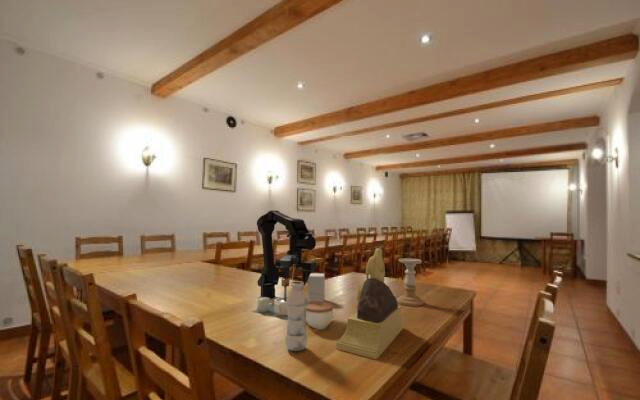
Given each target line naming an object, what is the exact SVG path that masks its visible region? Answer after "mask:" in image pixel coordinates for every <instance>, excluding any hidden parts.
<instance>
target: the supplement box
mask: <svg viewBox="0 0 640 400" xmlns="http://www.w3.org/2000/svg"><path fill="white" fill-rule="evenodd" d="M325 274H326V273H316V272H315V273H313V272H311V274H310V276H309V278H308V280H307V297H308V302H312V301H317V300H320V301H324V302H325V295H326V294H325V293H326V292H325V291H326V290H325V283H326V282H325V278H326V277H325Z"/></svg>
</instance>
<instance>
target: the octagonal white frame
mask: <svg viewBox="0 0 640 400" xmlns="http://www.w3.org/2000/svg"><path fill="white" fill-rule="evenodd" d="M287 297H288V296H286V298H287ZM283 298H284V296H283V297H282V296H281V297H280V296H279V297H277V298H273V299H274V300H273V301H274V302H273V303H274V312H275V314H277V315H283V316H285V315H288V310H287V302H278V300H279V299H283Z"/></svg>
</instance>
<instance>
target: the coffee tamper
mask: <svg viewBox="0 0 640 400" xmlns="http://www.w3.org/2000/svg"><path fill="white" fill-rule="evenodd" d="M289 286H290V278H284V277H283V278H281V287H283V288H284V290H283V297H284V298H283V299H279V300H278V302H287V298H286V297H287V287H289Z"/></svg>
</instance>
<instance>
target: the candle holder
mask: <svg viewBox="0 0 640 400" xmlns="http://www.w3.org/2000/svg"><path fill="white" fill-rule="evenodd" d="M398 262H399V263H402V264H404V266H405V267H406V269H405V270H404V273H405V276H404V277H405V278H404V281H403V283H404V286H403V289H404V290H405V291H404V294H403V295H400V296H399V297H397V298H396V300H397V303H398V304H400V305H403V306H408V307H420V306H423V305H425V304H424V303H425V301H424V300H423V299H422V298H421V297H420V296H418V295H416V291H417V289H418V288H417V287H416V284H417V281H416V278H415V274H416V273H417V271H415V267H416V265H417V264H422V260H421V259H418V258H413V257H412V258H409V257H405V258H398Z"/></svg>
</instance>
